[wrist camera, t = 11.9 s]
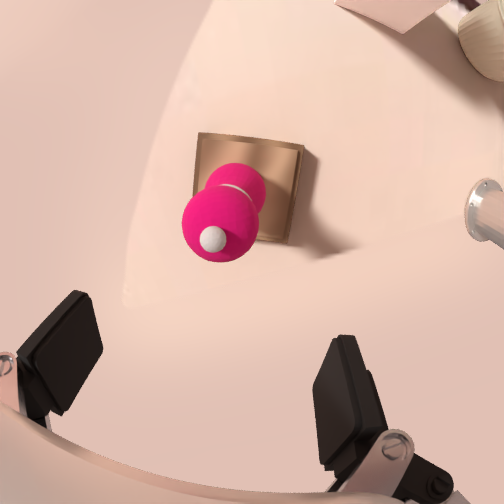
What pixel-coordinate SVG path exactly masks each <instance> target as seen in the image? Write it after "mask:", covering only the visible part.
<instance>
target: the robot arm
mask: <svg viewBox="0 0 504 504" xmlns="http://www.w3.org/2000/svg"><path fill="white" fill-rule="evenodd" d="M465 223H466V228H467V230H468V233H469V234H470V235H471V236H472V237H473V238H474V239H476V240H477V241H487V240H491V241H493V242H494V243H495V244H497V245H498V246H500V247H501V248H503V249H504V192H503V190H502V188H501V186H500V185H499V184H498V183H497V182H496V181H494V180H492V179H483V180H481V181H479V182H478V183H477V184H476V185H475V186H474V187H473V189H472V190H471V192H470V194H469V197H468V199H467V203H466V208H465ZM102 352H103V344H102V341H101V337H100V334H99V330H98V326H97V322H96V317H95V313H94V309H93V305H92V300H91V298H90V297H89V296H88V294H87V293H85V292H81V291H78V290H74V291H72V292H71V293H70V294H69V295H68V296H67V297H66V298H65V299H64V300H63V301H62V302H61V303H60V305H58V306H57V307H56V308H55V310H54V311H53V312H52V313H51V314H50V315H49V316H48V317H47V318H46V319H45V320H44V321H43V322H42V323H41V324H40V326H39V327H38V328H37V329H36V330H35V331H34V332H33V333H32V334H31V336H30V337H29V338H28V339H27V340H26V341H25V342H24V343H23V345H22V346H21V347H20V348H19V349H18V351H17V352H16V353H17V355H18V357H17V358H15V356H14V355H13V354H12V353H9V352H2V353H0V504H470V503H469V502H468V501H467V500H466V499H465V498H464V496H463V495H462V494H461V493H460V492H459V491H458V490H457V491H455V492H454V491H453V487H454V483H453V480H452V477H451V475H450V474H449V473H447V472H446V471H444V470H443V469H441V468H439V467H437V466H435V465H434V464H432V463H430V462H429V461H427V460H425V459H423V458H422V457H420V456H418V455H417V454H415V453H414V443H413V440H412V438H411V437H410V436H409V435H408V434H407V433H405V432H404V431H401V430H398V429H390V430H389V429H388V426H387V423H386V419H385V415H384V412H383V409H382V405H381V402H380V399H379V396H378V392H377V389H376V386H375V383H374V380H373V377H372V374H371V372H370V371H369V370H366V367H365V364H364V361H363V358H362V355H361V353H360V349H359V347H358V344H357V341H356V338H355V336H353V335H338V337H337V338H333V339H332V342H331V344H330V347H329V349H328V351H327V354H326V356H325V359H324V361H323V364H322V366H321V368H320V370H319V373H318V375H317V377H316V379H315V381H314V384H313V400H314V409H315V418H316V428H317V438H318V448H319V460H320V464H322V465H324V466H325V467H324V468H325V471H333V470H334V475H335V478H336V479H335V481H333V483H332V484H331V485H330V486H329V488H328V489H327V490H326V491H325V492H324V493H272V492H254V491H243V490H233V489H225V488H218V487H211V486H205V485H200V484H194V483H190V482H185V481H180V480H176V479H172V478H168V477H164V476H160V475H156V474H153V473H149V472H146V471H143V470H140V469H136V468H133V467H130V466H128V465H125V464H122V463H119V462H116V461H114V460H111V459H109V458H106V457H104V456H101V455H99V454H96V453H94V452H91V451H89V450H87V449H85V448H83V447H81V446H78V445H76V444H74V443H72V442H70V441H68V440H66V439H64V438H62V437H60V436H59V435H57V434H55V433H53V432H52V429H51V424H50V420H49V415H48V413H49V412H50V410H51V411H52V412H54V413H56V414H58V415H60V416H62V415H63V413H64V411H67V410H68V409H69V408H70V406H71V404H72V403H73V401H74V399H75V397H76V396H77V394H78V392H79V390H80V389H81V387H82V385H83V384H84V382H85V380H86V379H87V377H88V375H89V374H90V372H91V370H92V369H93V367H94V366H95V364H96V362H97V361H98V359H99V357H100V356H101V354H102Z"/></svg>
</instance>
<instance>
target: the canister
mask: <svg viewBox="0 0 504 504" xmlns="http://www.w3.org/2000/svg"><path fill="white" fill-rule="evenodd" d="M458 36H459V40H460V44H461V46H462V49H463V51H464V53H465V55H466V57H467V58H468V60H469V62H471V64H472V66H474V67H475V69H476V70H478V72H479V73H481V74H482V75H483V76H485V77H487V78H488V79H491V80H494V81H499V82H504V0H488V1H487V2H485V3H483V4H482V5H480V6H478V7H477V8H475V9H474V10H472V11H471V12H470V13H468V14H467V15H465V16H464V17H463V18H462V20H461V21H460V23H459V25H458Z"/></svg>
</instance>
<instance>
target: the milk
mask: <svg viewBox="0 0 504 504" xmlns="http://www.w3.org/2000/svg"><path fill="white" fill-rule="evenodd" d="M450 1H451V0H335V1H334V4H336V5H339V6H341V7H344V8H347V9H349V10H352V11H354V12H357V13H359V14H361V15H364V16H366V17H368V18H371V19H373V20H375V21H377V22H379V23H381V24H383V25H385V26H387V27H389V28H391V29H393V30H395V31H397V32H399V33H401V34H404V33H405V32H407V31H408V30H409V29H411V28H412V27H413V26H415V25H416V24H418V23H419V22H420V21H422V20H423V19H425V18H426V17H428V16H429V15H430V14H432V13H433V12H435V11H436V10H438V9H439V8H441V7H442V6H444V5H445V4H447V3H448V2H450Z"/></svg>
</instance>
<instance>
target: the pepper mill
mask: <svg viewBox="0 0 504 504" xmlns="http://www.w3.org/2000/svg"><path fill="white" fill-rule="evenodd" d="M265 199H266V187H265V184H264V181H263V179H262V177H261V176H260V175H259V173H258V172H257V171H256V170H255V169H253V168H252V167H250V166H248V165H245V164H242V163H229V164H225V165H223V166H221V167H219V168H217V169H216V170H215V171H214V172H213V173H212V174H211V175H210V177H209V178H208V180H207V182H206V185H205V188H204V189H203V190H201V191H200V192H198V193H197V194H196V195H195V196H194V197H193V198H192V199H191V200H190V201H189V203H188V204H187V206H186V208H185V210H184V213H183V218H182V229H183V235H184V238H185V240H186V242H187V244H188V245H189V247H190V248H191V249H192V250H193V251H194V252H195V253H196V254H197V255H198V256H200V257H202V258H203V259H205V260H208V261H212V262H229V261H232V260H235V259H237V258H239V257H241V256H243V255H244V254H245V253H246V252H247V251H248V250H249V249H250V248H251V247H252V245H253V244H254V241H255V239H256V237H257V234H258V231H259V217H258V213H259V212H260V211H261V209H262V207H263V205H264V202H265Z"/></svg>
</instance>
